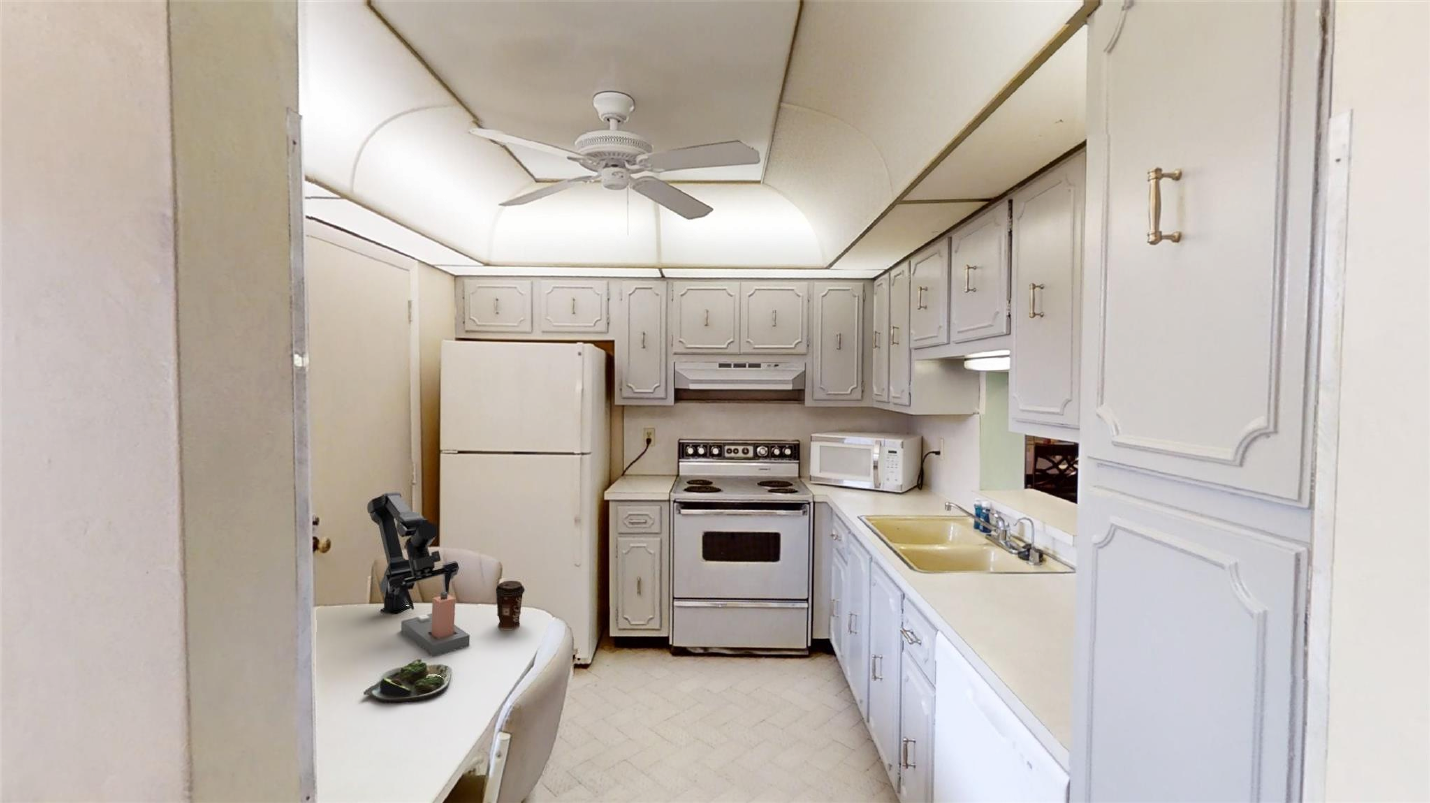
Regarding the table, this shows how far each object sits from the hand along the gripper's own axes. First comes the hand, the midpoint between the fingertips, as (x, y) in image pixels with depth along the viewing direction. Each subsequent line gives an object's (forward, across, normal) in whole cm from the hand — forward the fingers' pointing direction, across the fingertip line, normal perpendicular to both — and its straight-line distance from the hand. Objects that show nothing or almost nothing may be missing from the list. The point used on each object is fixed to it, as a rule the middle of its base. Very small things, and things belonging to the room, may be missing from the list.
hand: (430, 603), depth 171 cm
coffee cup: (+13, +20, +4) cm, 24 cm away
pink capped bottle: (+12, 0, -1) cm, 12 cm away
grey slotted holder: (+9, -1, +3) cm, 10 cm away
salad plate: (+24, -11, -18) cm, 32 cm away
